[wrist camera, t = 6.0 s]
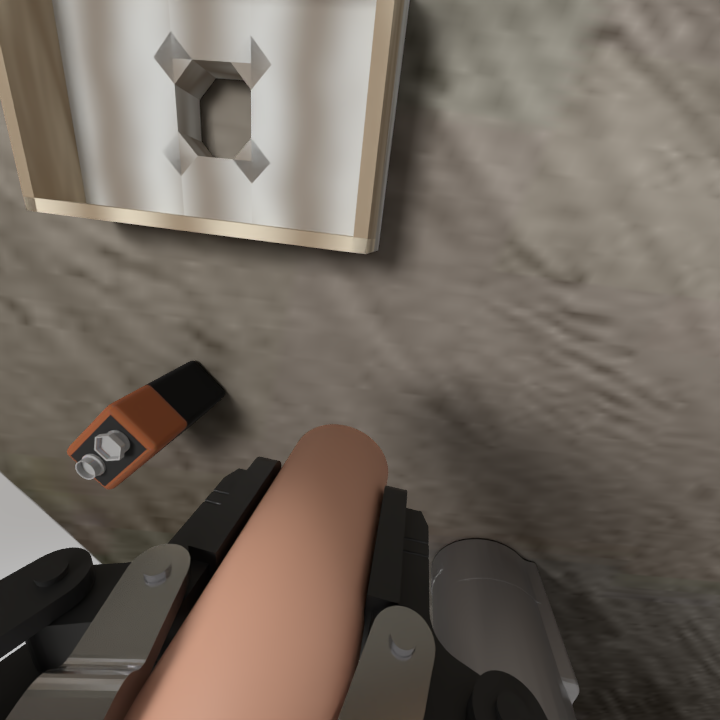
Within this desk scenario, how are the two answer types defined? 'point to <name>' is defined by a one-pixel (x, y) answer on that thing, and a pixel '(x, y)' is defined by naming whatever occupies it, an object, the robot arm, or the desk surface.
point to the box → (182, 113)
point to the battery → (143, 424)
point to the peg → (282, 596)
